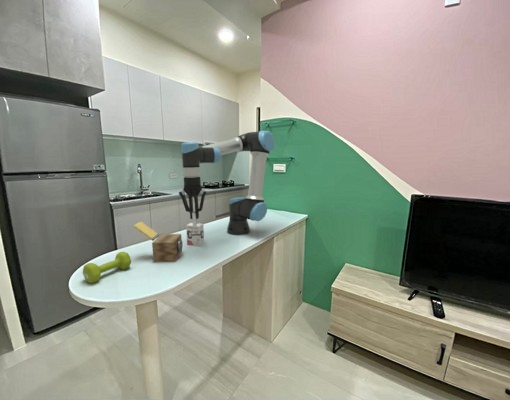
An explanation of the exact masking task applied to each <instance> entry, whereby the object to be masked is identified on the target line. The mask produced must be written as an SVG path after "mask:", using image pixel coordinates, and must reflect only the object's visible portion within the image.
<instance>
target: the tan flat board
mask: <svg viewBox="0 0 510 400" xmlns="http://www.w3.org/2000/svg"><path fill="white" fill-rule="evenodd" d="M132 227H133V228H134V229H136V230H137V231H139V232H140V233H142V235H144V236H145V237H147V238H148V239H150V240H151V241H152V242H154V241H155V240H156V239H157V238H158V237H159V236H160V234H159V233H157V232H156V231H155V230H153V229H152V228H151V227H150V226H148V225H147V224H145V223H144V222H143V221H139V222H138V223H137V222H136V223H135V224H134V225H133V226H132Z"/></svg>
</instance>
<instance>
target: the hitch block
mask: <svg viewBox="0 0 510 400" xmlns="http://www.w3.org/2000/svg"><path fill="white" fill-rule="evenodd" d="M178 240H182V241H183V239H182V233H170V234H169V233H168V234H167V233H165V234H164V233H163V234H159V236H158V237H157V238H156V239H155V240H154V241H152V242H151V247H152V260H153V261H152V262H153V263H175V262H177V260H178V259H179V257H180V256H181V254H182V253H183V250H182V251H181V252H178V251H177V242H178Z"/></svg>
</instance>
